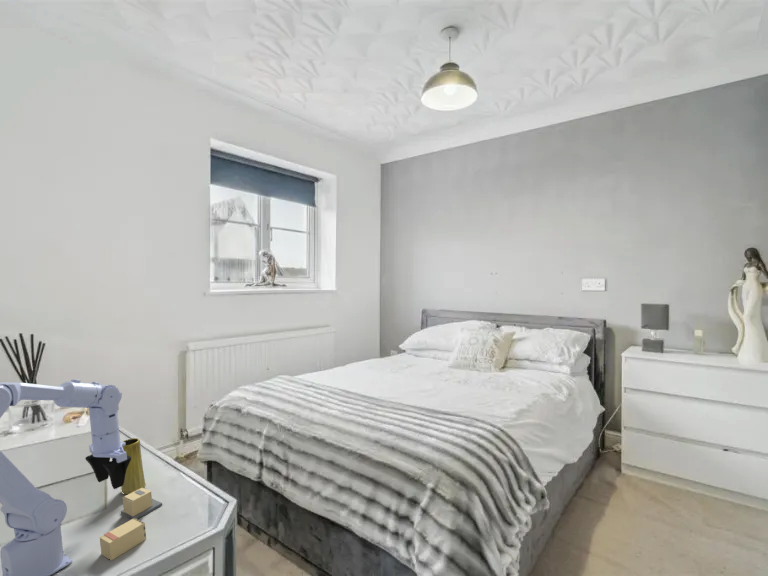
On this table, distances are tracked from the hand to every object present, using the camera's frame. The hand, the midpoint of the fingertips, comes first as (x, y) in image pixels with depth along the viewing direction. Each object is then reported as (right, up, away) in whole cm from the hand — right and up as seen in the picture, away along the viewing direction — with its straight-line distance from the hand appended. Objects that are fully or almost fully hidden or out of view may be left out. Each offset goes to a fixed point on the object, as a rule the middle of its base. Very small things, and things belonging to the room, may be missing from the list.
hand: (110, 483), depth 99 cm
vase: (-4, -10, +15) cm, 19 cm away
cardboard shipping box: (+10, -10, -9) cm, 17 cm away
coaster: (+5, -9, +5) cm, 12 cm away
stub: (+5, -9, +4) cm, 11 cm away
